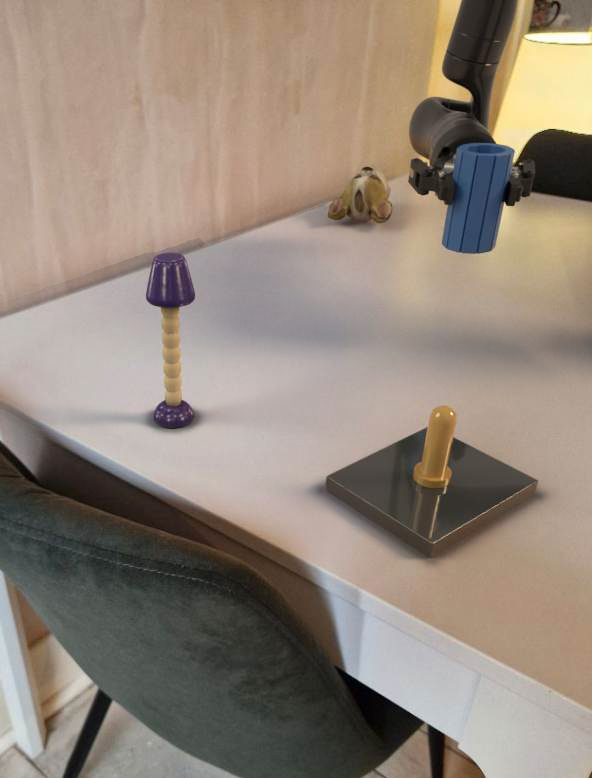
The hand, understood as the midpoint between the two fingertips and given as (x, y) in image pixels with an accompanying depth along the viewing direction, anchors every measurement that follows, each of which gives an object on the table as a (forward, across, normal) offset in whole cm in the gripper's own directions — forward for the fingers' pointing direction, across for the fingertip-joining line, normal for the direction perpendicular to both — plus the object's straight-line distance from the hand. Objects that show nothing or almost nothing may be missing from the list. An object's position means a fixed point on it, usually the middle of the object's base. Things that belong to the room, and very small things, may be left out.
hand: (481, 195), depth 80 cm
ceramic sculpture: (-51, -10, +18) cm, 55 cm away
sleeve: (-2, 0, +6) cm, 6 cm away
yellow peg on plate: (+30, -5, +17) cm, 35 cm away
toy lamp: (+19, -30, +18) cm, 40 cm away
